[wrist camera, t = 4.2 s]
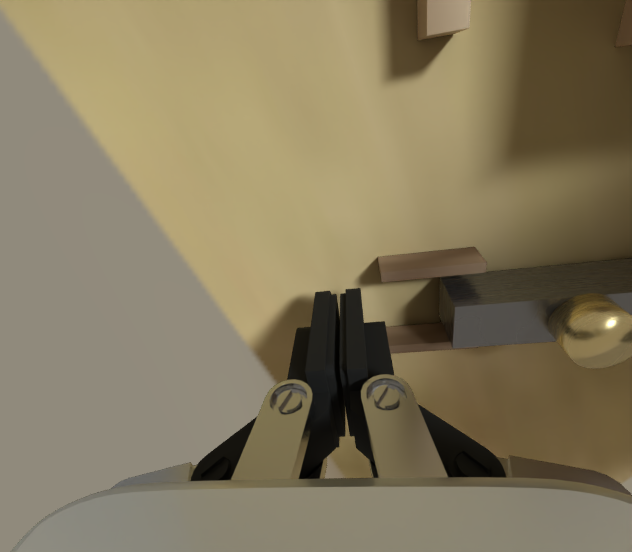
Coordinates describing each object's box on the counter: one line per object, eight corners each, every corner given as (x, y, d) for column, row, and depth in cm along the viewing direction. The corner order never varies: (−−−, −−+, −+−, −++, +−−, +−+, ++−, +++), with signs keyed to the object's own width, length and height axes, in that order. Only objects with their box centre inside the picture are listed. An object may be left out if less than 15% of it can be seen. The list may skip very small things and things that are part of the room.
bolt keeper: (474, 247, 12) (487, 262, 11) (467, 328, 14) (477, 347, 13) (378, 256, 13) (381, 272, 12) (383, 334, 15) (386, 353, 14)
